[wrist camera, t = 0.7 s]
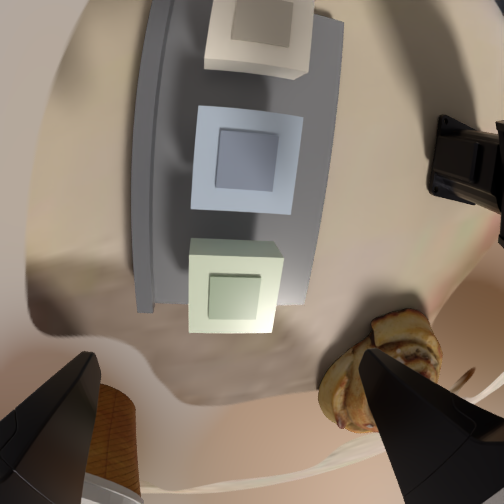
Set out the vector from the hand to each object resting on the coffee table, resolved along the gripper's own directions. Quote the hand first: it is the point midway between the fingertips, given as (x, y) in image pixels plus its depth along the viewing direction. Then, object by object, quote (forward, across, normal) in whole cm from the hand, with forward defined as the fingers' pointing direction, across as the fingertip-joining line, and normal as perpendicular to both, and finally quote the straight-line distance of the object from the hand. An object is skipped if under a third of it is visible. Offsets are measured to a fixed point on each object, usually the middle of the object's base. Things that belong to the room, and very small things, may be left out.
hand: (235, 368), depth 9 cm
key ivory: (+8, -1, -12) cm, 14 cm away
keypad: (+11, -1, -6) cm, 12 cm away
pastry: (+12, -16, +14) cm, 24 cm away
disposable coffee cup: (+11, +11, +17) cm, 23 cm away
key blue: (+8, -1, -6) cm, 10 cm away
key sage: (+8, -1, +1) cm, 8 cm away
